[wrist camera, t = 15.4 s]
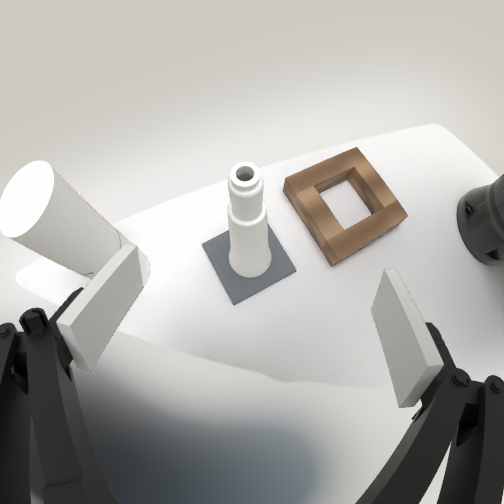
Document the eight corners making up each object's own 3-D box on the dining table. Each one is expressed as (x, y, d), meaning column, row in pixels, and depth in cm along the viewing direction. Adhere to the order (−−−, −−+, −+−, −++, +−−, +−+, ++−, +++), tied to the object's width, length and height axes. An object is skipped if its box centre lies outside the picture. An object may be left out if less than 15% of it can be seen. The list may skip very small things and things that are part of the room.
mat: (295, 271, 42) (296, 270, 42) (234, 305, 41) (233, 304, 40) (261, 215, 45) (261, 213, 44) (202, 245, 44) (201, 243, 43)
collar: (397, 225, 44) (408, 215, 40) (331, 266, 42) (338, 259, 38) (350, 160, 48) (356, 146, 44) (283, 191, 46) (285, 178, 42)
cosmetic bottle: (230, 236, 43) (209, 141, 22) (271, 238, 43) (285, 143, 22) (227, 277, 41) (199, 209, 20) (270, 278, 41) (286, 212, 20)
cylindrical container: (109, 251, 43) (7, 172, 20) (149, 245, 44) (61, 151, 20) (109, 295, 41) (-9, 243, 17) (151, 291, 41) (46, 229, 18)
